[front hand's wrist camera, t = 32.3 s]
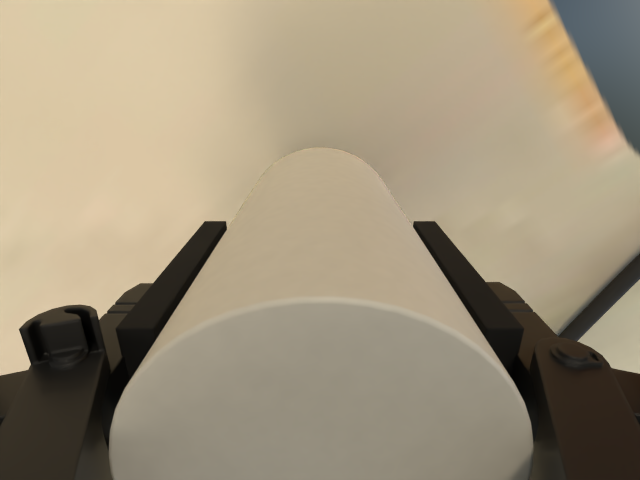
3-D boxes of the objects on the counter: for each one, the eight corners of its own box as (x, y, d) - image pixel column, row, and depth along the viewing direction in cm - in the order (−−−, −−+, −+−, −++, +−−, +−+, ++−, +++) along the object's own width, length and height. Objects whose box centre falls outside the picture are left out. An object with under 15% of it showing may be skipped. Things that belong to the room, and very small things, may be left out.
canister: (339, 114, 16) (393, 196, 4) (419, 236, 18) (600, 515, 6) (218, 203, 18) (11, 444, 6) (304, 307, 20) (281, 641, 8)
